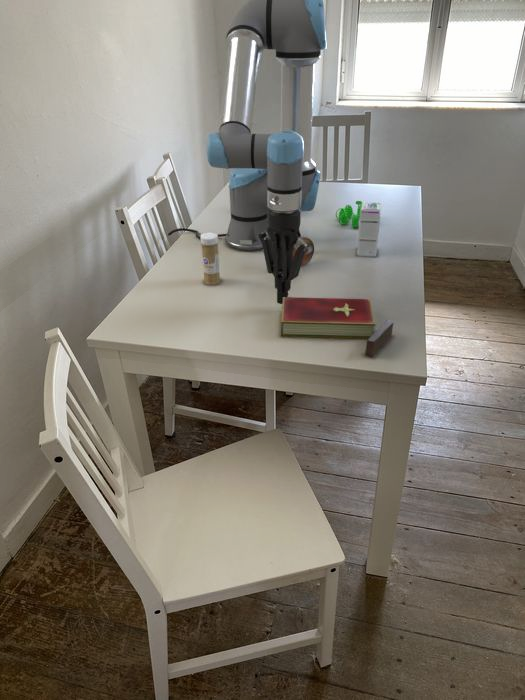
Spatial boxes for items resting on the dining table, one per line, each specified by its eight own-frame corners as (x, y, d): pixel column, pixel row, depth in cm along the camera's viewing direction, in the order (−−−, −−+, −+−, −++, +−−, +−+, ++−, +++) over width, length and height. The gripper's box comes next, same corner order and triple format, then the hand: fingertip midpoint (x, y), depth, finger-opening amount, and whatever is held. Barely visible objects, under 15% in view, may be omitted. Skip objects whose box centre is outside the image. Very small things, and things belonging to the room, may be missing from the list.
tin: (268, 274, 148) (268, 245, 143) (263, 269, 150) (263, 241, 146) (314, 263, 154) (315, 235, 149) (308, 258, 156) (309, 231, 151)
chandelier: (376, 232, 172) (378, 211, 168) (330, 227, 176) (332, 207, 172) (382, 216, 184) (384, 197, 180) (339, 212, 188) (341, 193, 184)
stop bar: (365, 355, 115) (366, 340, 112) (384, 334, 121) (387, 320, 119) (371, 357, 114) (373, 342, 112) (391, 337, 121) (393, 322, 118)
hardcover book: (282, 310, 131) (282, 295, 129) (368, 312, 130) (369, 297, 128) (281, 336, 121) (281, 320, 119) (373, 338, 120) (375, 323, 118)
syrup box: (376, 257, 156) (381, 209, 148) (356, 255, 157) (360, 208, 149) (376, 249, 161) (382, 202, 153) (357, 248, 162) (361, 201, 154)
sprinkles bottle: (201, 284, 144) (197, 237, 136) (208, 276, 147) (205, 230, 139) (216, 286, 142) (213, 239, 134) (223, 279, 146) (220, 233, 138)
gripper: (250, 207, 118) (252, 299, 132) (299, 219, 112) (296, 315, 125) (270, 198, 123) (269, 288, 137) (317, 209, 117) (312, 302, 130)
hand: (282, 301), depth 131 cm, fingers closed
